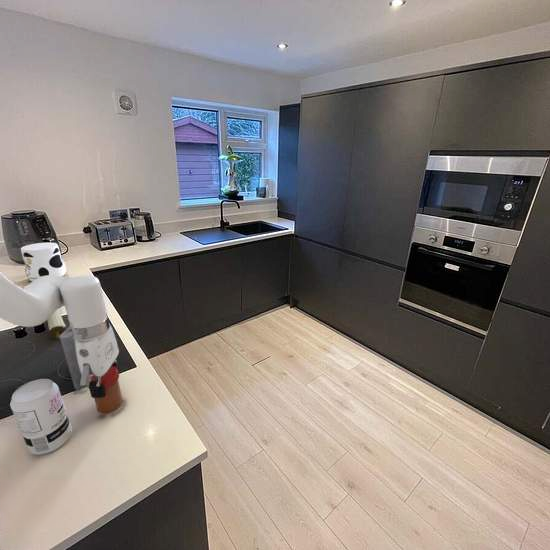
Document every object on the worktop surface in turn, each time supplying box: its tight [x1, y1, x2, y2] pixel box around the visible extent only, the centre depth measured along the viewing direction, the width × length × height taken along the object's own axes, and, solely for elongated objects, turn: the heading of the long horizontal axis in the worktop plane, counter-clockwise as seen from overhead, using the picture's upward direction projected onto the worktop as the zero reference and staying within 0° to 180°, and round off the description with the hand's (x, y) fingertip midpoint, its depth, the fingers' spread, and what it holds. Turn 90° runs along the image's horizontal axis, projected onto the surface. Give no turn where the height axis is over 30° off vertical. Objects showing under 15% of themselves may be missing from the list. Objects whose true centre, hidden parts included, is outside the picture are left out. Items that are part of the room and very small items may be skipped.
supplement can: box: [9, 378, 73, 455], centre depth 64 cm, size 8×8×15 cm
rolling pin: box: [46, 307, 67, 340], centre depth 113 cm, size 32×6×5 cm, turn 38°
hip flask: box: [59, 325, 92, 391], centre depth 85 cm, size 16×4×20 cm, turn 15°
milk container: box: [20, 242, 67, 282], centre depth 152 cm, size 17×17×18 cm
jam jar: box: [93, 379, 124, 415], centre depth 75 cm, size 6×6×10 cm
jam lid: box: [91, 366, 120, 388], centre depth 74 cm, size 7×7×2 cm
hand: (106, 385), depth 75 cm, fingers closed on jam lid, 6 cm apart
